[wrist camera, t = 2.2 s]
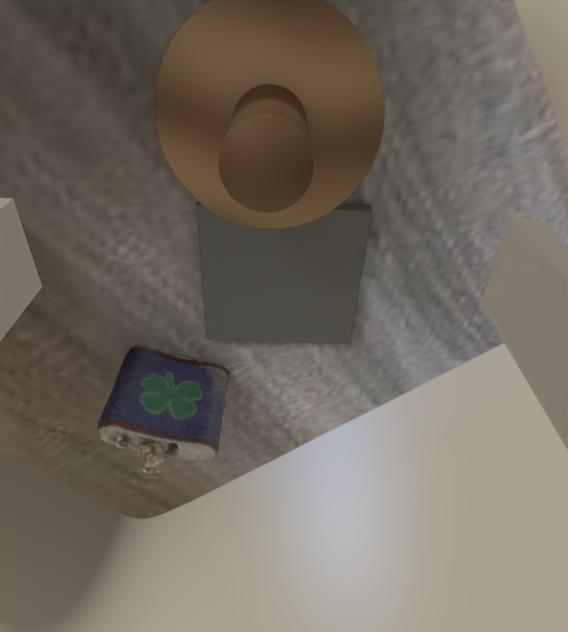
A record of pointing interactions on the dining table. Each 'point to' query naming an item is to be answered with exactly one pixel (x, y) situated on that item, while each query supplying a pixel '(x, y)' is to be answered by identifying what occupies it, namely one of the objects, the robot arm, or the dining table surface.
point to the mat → (283, 277)
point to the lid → (269, 109)
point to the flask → (165, 407)
